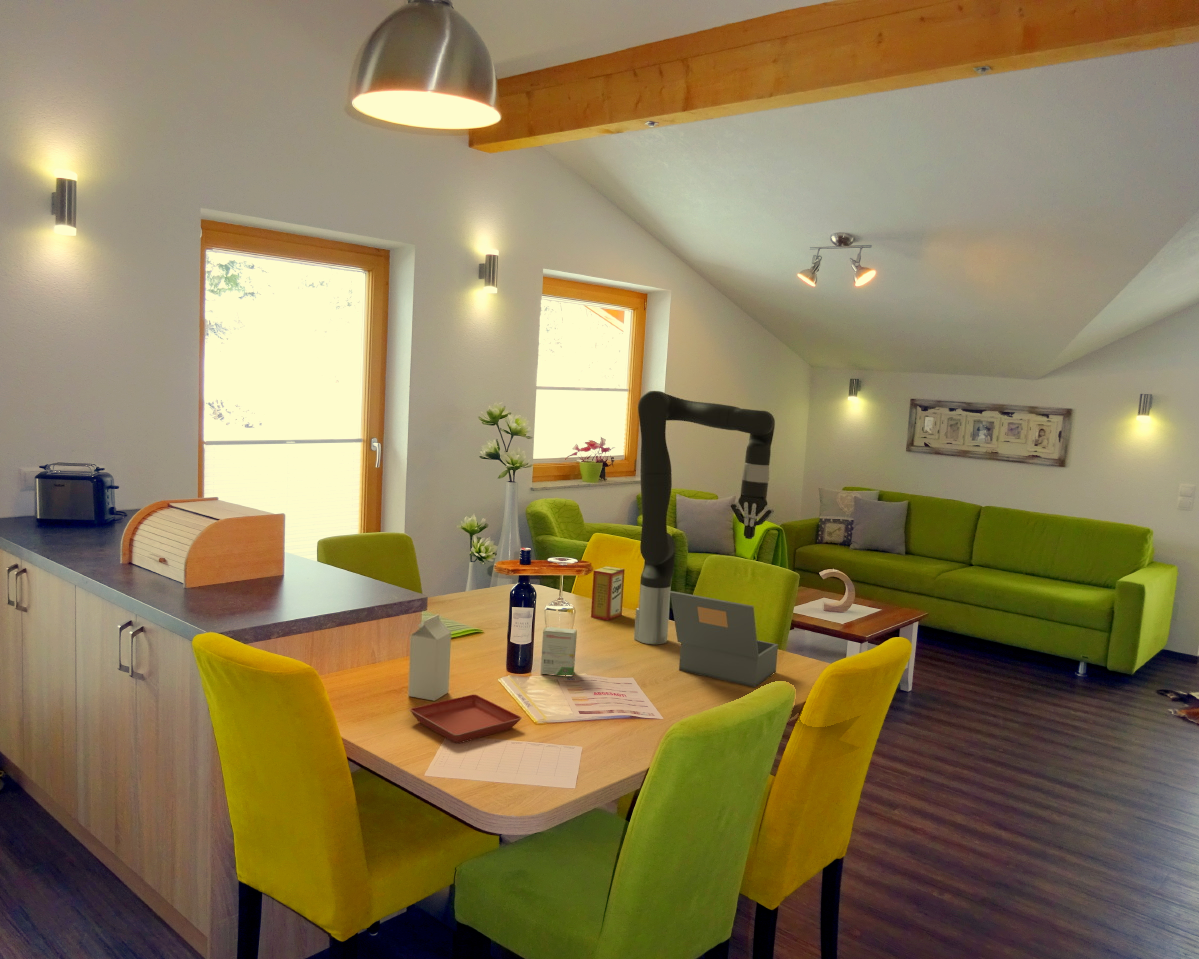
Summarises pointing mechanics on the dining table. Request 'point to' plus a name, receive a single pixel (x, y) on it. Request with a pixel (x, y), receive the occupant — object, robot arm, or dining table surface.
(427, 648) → the milk carton
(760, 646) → the mailer box
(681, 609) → the mailer lid
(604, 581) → the baking soda box
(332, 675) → the dining table surface
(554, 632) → the ink box
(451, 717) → the plant saucer
